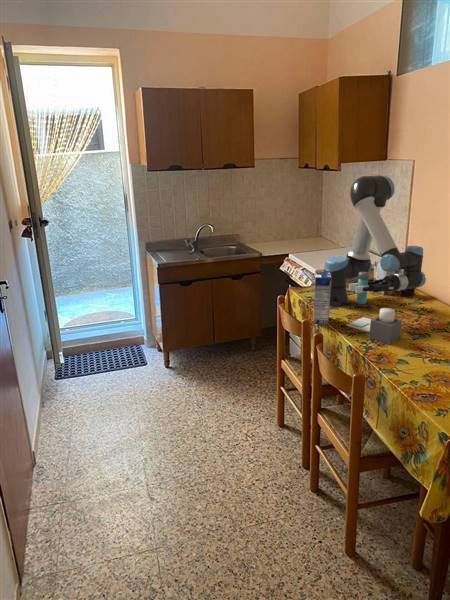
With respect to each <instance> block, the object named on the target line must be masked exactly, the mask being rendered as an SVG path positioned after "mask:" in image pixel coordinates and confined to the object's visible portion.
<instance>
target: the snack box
mask: <svg viewBox="0 0 450 600" xmlns="http://www.w3.org/2000/svg"><path fill="white" fill-rule="evenodd" d="M380 260H381V259H375V260H374V267H373V276H372V278H375V280H379V279H384V277H385V276H387V275H394V274H396V271H391V272H386V271H384V270H383V269H382V268H381V266H380ZM393 292H394V291H391V292H388V291H383V292H380V293H381V294H382V295H386V296H387V295H388V296H390V295H391V296H392V295H393Z"/></svg>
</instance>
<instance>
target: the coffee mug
mask: <svg viewBox="0 0 450 600" xmlns="http://www.w3.org/2000/svg"><path fill="white" fill-rule="evenodd" d="M415 290H416V288H411V289H404V290H400V296H402V297H405V298H406V297H407V298H410V297H414V294H415Z"/></svg>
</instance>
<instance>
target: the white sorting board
mask: <svg viewBox="0 0 450 600" xmlns="http://www.w3.org/2000/svg"><path fill="white" fill-rule="evenodd" d="M372 319H373V318H372ZM372 319H371V318H369V317H364V316H363V317H360V318H358V319H355V320H353V321H351V322H348V323H346V327H349V328H353V329H357V330H359V331H363V332H366V333H369V334H370V324H371V320H372Z"/></svg>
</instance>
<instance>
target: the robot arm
mask: <svg viewBox="0 0 450 600" xmlns="http://www.w3.org/2000/svg"><path fill="white" fill-rule="evenodd" d="M349 192H350V193H349V196H350V201H351V203H352V206H353V207H354V209H355V210H357V211H358V212H359V214H360V216H359V219H358V223H357V227H356V232H355V233H354V234H355V235H354V238H353V242H352V246H351V249H350V250H348V251H347V253H346V256H344V255H335V256H333V255H332V256H330V257H328V258H326V259H325V260H324V266H323V272H331V278H332V279H331V293H330V306H332V307H342V306H346V305H348V304H349V302H350V301H349V294H348V291H354V292H355V294H357V293H361V292H367V293H369V292H371V293H372V292H373V293H381V292H383V291H388V292H391V291H393V292H396V291H397V292H401V290H404V289H411V288H415V289H418V288H421V287H423V286H424V285H425V284H426V280H427V278H426V274H425V273H424V272H423V271H422V266H423V261H424V260H423V259H424V248H423V247H422V246H418V245H408V246H406V247H405V250H404V251H403V252H400V250H399V248H398V246H397V245H396V242H395V241H394V239H393V237H392V235H391V233H390V231H389V229H388V227H387V224H385V221H384V219H383V217H382V215H381V209H384V208H385V207H386V204H387V201H388V200H390V199H391V198H392V197H393V196H394V195H395V184H394V182H393V179H392V178H391V177H389V176H386V175H379V174H378V175H363V176H360V177H358V178H356V179H355V180H354V181H353V183H352V184H351V186H350V191H349ZM372 240H373V241H372ZM372 242H374V243H375V246H376V248H377V250H378V251H379V254H380V256H381V258H380V259H379V260H380V266H381V268H382V269H383V270H384V271H386V272H391V271H395V272H397V271H402V270H403V272H402V273H400V272H399V273H395V274H394V275H387V276H385V277H384V279H379V280H375V278H373V277H372V278H370V279H369V278H368V285H364V286H358V282H356V283H349V284H348V288H347V283H348V281H353V280H358V279H359V278H358V276H359V272H368V273H369V274H370V273H371V272H372V268H373V264H372V260H371V255H370V254H369V252H370V249H371V245H372V244H371V243H372ZM347 289H348V291H347Z"/></svg>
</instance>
